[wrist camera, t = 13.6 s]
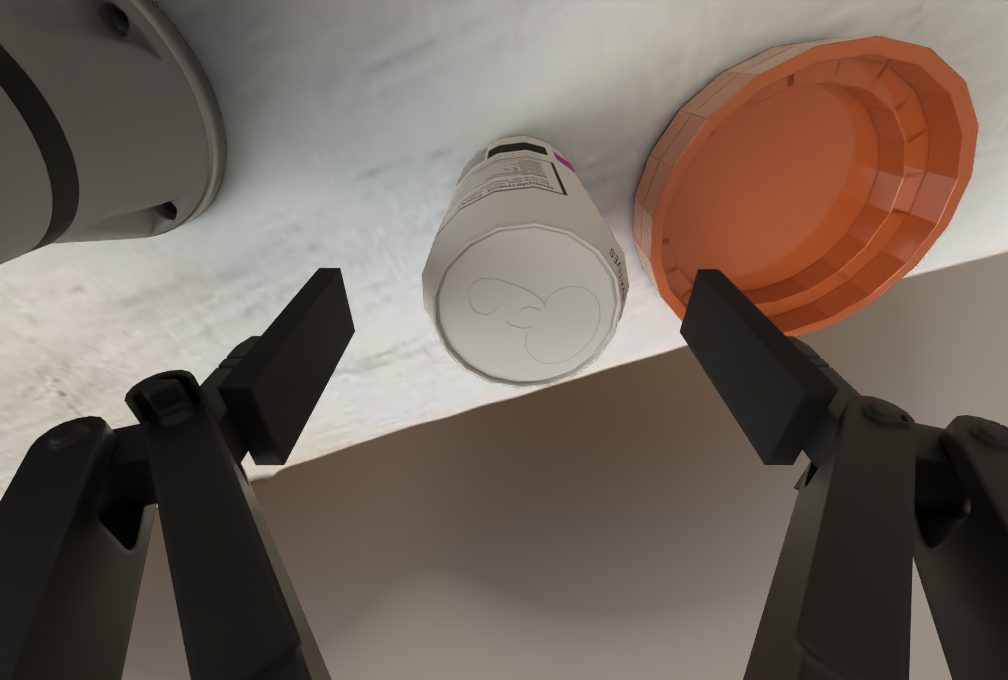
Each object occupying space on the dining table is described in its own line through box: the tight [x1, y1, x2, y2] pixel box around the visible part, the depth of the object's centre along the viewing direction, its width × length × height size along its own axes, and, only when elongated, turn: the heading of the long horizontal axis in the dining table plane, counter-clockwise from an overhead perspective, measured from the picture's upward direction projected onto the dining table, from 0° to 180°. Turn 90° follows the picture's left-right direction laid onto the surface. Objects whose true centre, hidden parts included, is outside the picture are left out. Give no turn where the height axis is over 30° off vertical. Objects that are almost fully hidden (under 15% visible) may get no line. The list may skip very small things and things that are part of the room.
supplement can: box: [422, 136, 629, 388], centre depth 22 cm, size 8×8×15 cm
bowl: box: [633, 36, 978, 337], centre depth 26 cm, size 17×17×4 cm
